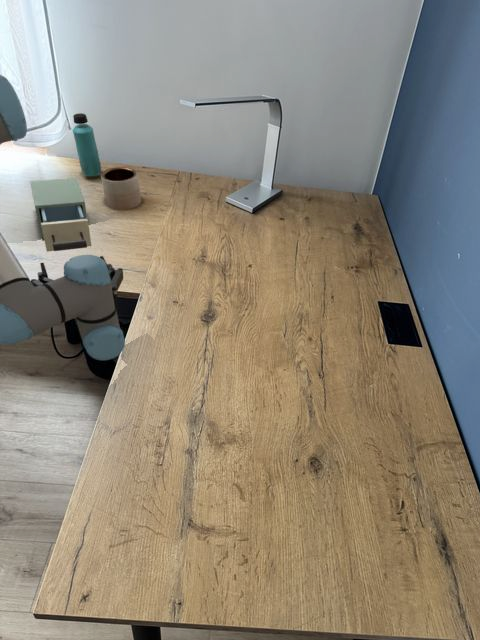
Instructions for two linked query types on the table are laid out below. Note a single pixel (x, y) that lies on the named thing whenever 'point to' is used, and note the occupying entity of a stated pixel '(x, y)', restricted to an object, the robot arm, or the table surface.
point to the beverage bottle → (86, 146)
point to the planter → (121, 188)
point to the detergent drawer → (65, 228)
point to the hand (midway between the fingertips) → (72, 264)
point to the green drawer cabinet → (56, 196)
